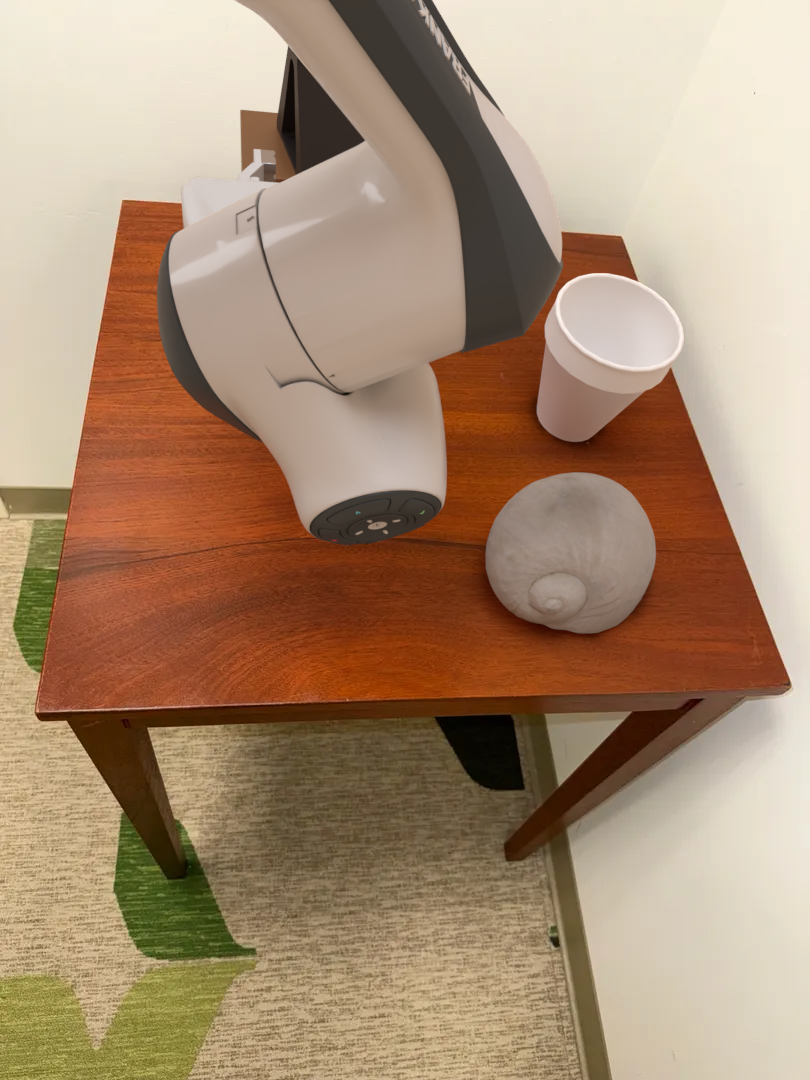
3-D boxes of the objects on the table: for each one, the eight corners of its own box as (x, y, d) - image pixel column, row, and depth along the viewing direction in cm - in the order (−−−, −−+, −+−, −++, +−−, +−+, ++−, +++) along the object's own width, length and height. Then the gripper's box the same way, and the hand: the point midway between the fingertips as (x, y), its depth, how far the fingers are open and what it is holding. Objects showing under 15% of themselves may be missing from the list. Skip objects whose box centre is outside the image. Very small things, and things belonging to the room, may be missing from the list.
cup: (620, 476, 77) (685, 386, 66) (504, 445, 77) (548, 348, 65) (626, 389, 84) (685, 292, 72) (518, 359, 83) (561, 257, 72)
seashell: (466, 581, 76) (462, 601, 61) (520, 450, 75) (529, 438, 60) (609, 641, 75) (640, 675, 60) (667, 509, 74) (713, 511, 59)
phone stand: (364, 183, 70) (382, 46, 60) (300, 187, 68) (308, 47, 58) (337, 124, 74) (350, -14, 64) (276, 126, 72) (279, -16, 62)
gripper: (524, 273, 47) (485, 135, 53) (175, 254, 42) (180, 106, 49) (496, 347, 52) (463, 213, 59) (183, 337, 48) (186, 193, 54)
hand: (332, 164), depth 54 cm, fingers open, 8 cm apart
